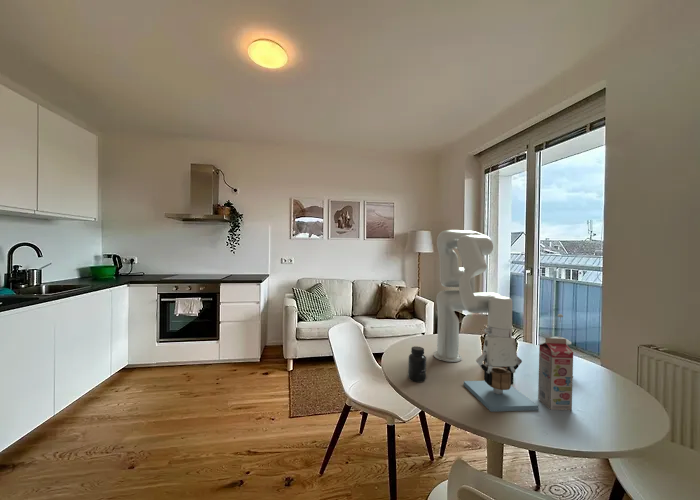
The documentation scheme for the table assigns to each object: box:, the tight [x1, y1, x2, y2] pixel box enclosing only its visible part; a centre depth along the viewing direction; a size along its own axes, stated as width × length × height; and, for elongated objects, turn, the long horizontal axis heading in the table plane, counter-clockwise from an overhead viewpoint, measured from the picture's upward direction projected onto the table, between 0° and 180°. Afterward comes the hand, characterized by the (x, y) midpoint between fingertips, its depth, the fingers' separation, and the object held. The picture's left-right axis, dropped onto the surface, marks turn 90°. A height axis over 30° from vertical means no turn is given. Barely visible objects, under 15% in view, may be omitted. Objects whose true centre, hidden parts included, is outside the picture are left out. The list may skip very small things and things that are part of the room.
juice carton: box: [537, 337, 574, 411], centre depth 98 cm, size 7×7×22 cm
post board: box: [463, 380, 539, 412], centre depth 102 cm, size 18×16×6 cm
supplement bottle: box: [407, 345, 427, 383], centre depth 115 cm, size 7×7×12 cm
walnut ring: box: [488, 367, 512, 390], centre depth 102 cm, size 7×7×5 cm
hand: (498, 382), depth 102 cm, fingers closed on walnut ring, 7 cm apart
